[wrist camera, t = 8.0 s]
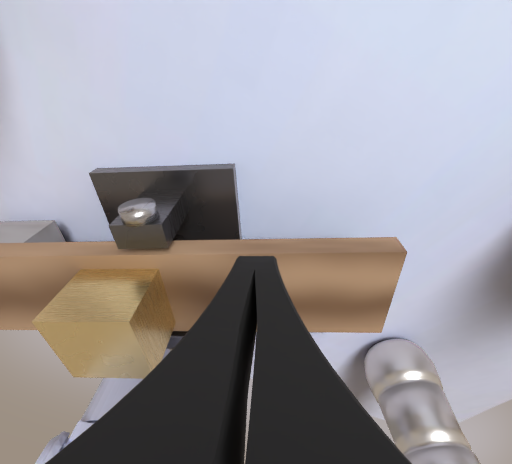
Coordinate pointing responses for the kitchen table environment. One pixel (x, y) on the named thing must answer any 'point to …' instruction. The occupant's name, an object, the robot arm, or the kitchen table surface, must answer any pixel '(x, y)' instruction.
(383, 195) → the kitchen table surface
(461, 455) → the plastic bottle
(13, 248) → the balance beam
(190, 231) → the pivot stand
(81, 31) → the kitchen table surface
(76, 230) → the kitchen table surface
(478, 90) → the kitchen table surface
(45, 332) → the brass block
